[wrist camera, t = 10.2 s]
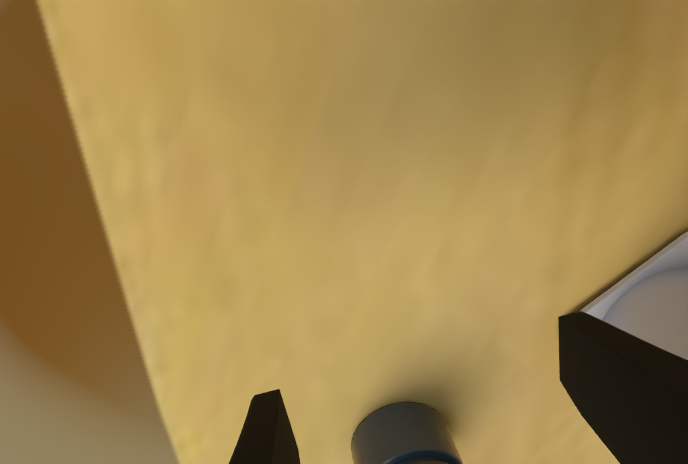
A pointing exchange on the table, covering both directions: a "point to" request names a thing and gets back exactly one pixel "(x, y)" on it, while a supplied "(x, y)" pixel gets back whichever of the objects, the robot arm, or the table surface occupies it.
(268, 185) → the table surface
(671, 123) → the table surface
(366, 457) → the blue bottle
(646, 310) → the robot arm
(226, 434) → the table surface
